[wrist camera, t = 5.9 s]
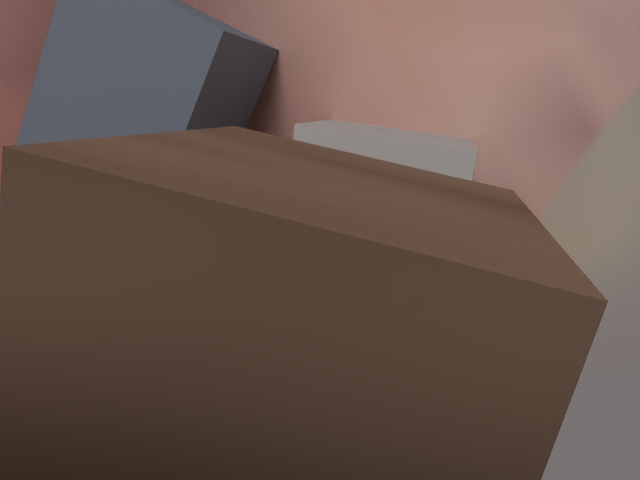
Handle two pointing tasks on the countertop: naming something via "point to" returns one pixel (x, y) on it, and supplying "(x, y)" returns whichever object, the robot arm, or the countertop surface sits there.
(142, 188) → the walnut brick
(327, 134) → the cream brick
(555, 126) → the countertop surface
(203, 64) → the slate brick
